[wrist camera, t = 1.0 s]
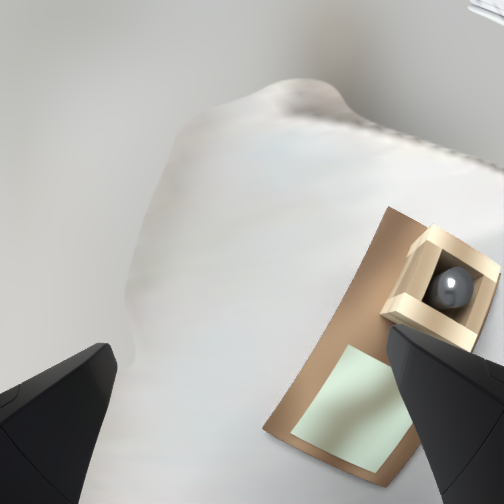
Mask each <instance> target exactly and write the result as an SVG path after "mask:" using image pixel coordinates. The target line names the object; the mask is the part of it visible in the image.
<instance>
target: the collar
mask: <svg viewBox="0 0 504 504" xmlns="http://www.w3.org/2000/svg"><path fill="white" fill-rule="evenodd" d="M453 267H461V268H464V269H465V270H467V271H468V272H469V274H470V275H471V277H472V280H473V285H474V290H473V295H472V297H471V299H470V301H469V302H468V303H467V304H465V305H464V306H461V307H456V308H450V309H445V310H444V312H443V314H442V313H440V312H438V311H437V310H435V309H433V308H431V307H430V306H428V305H426V304H424V303H423V302H421V300H422V298H423V296H424V293H425V291H426V289H427V286H428V284H429V282H430V279H431V277H432V274H435V275H439V274H441V273H443V272H445V271H447V270H449V269H451V268H453ZM500 269H501V266H499V265H498V264H496V263H495V262H493V261H492V260H491V259H489V258H488V257H486V256H485V255H483V254H482V253H480V252H478V251H477V250H475V249H474V248H472V247H471V246H469V245H468V244H466V243H464V242H463V241H461V240H460V239H458V238H456V237H455V236H453V235H451V234H450V233H448V232H446V231H445V230H443V229H441V228H440V227H438V226H436V225H434V224H432V225H431V226H430V227H429V228H428V229H427V230H426V231H425V232H424V233H423V234H422V235H421V236H420V237H419V238H418V239H417V240H416V241H415V242H414V243H413V244H412V245H411V247H410V250H409V252H408V254H407V257H406V259H405V261H404V264H403V266H402V268H401V270H400V273H399V275H398V277H397V279H396V281H395V283H394V286H393V288H392V290H391V292H390V294H389V296H388V298H387V300H386V302H385V304H384V306H383V308H382V310H381V312H380V314H379V315H381V316H383V317H385V318H387V319H389V320H390V321H392V322H394V323H396V324H404V325H406V326H409V327H411V328H414V329H416V330H418V331H421V332H423V333H425V334H428V335H430V336H432V337H435V338H437V339H439V340H442V341H444V342H446V343H449V344H451V345H453V346H456V347H458V348H461V349H463V350H465V351H468V352H471V349H472V347H473V345H474V343H475V340H476V338H477V335H478V333H479V331H480V328H481V326H482V323H483V320H484V318H485V315H486V312H487V310H488V307H489V304H490V301H491V298H492V295H493V292H494V289H495V286H496V283H497V279H498V276H499V272H500Z"/></svg>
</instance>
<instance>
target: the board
mask: <svg viewBox="0 0 504 504" xmlns="http://www.w3.org/2000/svg"><path fill="white" fill-rule="evenodd" d="M427 229H428V228H427V227H426V226H424V225H422V224H420V223H419V222H417V221H415V220H413V219H411V218H409V217H408V216H406V215H404V214H402V213H400V212H398V211H396V210H395V209H393V208H391V207H389V206H388V208H387V210H386V211H385V213H384V216H383V218H382V220H381V222H380V225H379V227H378V229H377V231H376V233H375V236H374V238H373V240H372V242H371V244H370V246H369V248H368V250H367V252H366V254H365V256H364V258H363V260H362V263H361V265H360V267H359V269H358V270H357V272H356V274H355V276H354V278H353V280H352V282H351V284H350V286H349V288H348V290H347V292H346V294H345V295H344V297H343V299H342V301H341V303H340V305H339V306H338V308H337V310H336V312H335V314H334V316H333V317H332V319H331V321H330V323H329V324H328V326H327V328H326V330H325V331H324V333H323V335H322V336H321V338H320V340H319V342H318V343H317V345H316V347H315V348H314V350H313V352H312V353H311V355H310V356H309V358H308V360H307V361H306V363H305V365H304V366H303V368H302V369H301V371H300V372H299V374H298V376H297V377H296V379H295V380H294V382H293V383H292V385H291V386H290V388H289V389H288V391H287V392H286V394H285V395H284V397H283V398H282V400H281V401H280V403H279V404H278V406H277V407H276V409H275V410H274V412H273V413H272V414H271V416H270V417H269V419H268V420H267V421H266V423H265V425H264V426H263V428H262V429H263V430H265V431H266V432H268V433H270V434H272V435H273V436H275V437H277V438H279V439H281V440H282V441H284V442H286V443H288V444H290V445H292V446H293V447H295V448H297V449H299V450H301V451H303V452H305V453H307V454H309V455H311V456H313V457H315V458H317V459H319V460H321V461H323V462H326V463H328V464H330V465H332V466H334V467H336V468H339V469H341V470H343V471H345V472H348V473H350V474H352V475H355V476H357V477H360V478H362V479H365V480H367V481H370V482H372V483H375V484H378V485H380V486H383V487H387V486H388V485H389V483H390V482H391V481H392V480H393V479H394V477H395V476H396V475H397V474H398V473H399V471H400V470H401V469H402V468H403V466H404V465H405V464H406V462H407V461H408V460H409V458H410V457H411V456H412V454H413V453H414V452H415V450H416V449H417V448H418V446H419V445H420V443H421V441H420V439H419V436H418V434H417V432H416V429H415V427H414V424H413V422H412V420H411V417H410V415H409V413H408V411H407V408H406V406H405V404H404V402H403V399H402V397H401V395H400V392H399V390H398V387H397V384H396V381H395V378H394V375H393V372H392V368H391V365H390V362H389V359H388V357H387V353H386V345H387V339H388V333H389V329H390V327H391V326H392V325H397V324H396V323H394V322H392V321H390V320H389V319H387V318H385V317H383V316H381V315H379V314H380V312H381V310H382V308H383V306H384V304H385V302H386V300H387V298H388V296H389V294H390V292H391V290H392V288H393V286H394V283H395V281H396V279H397V277H398V275H399V273H400V270H401V268H402V266H403V264H404V261H405V259H406V257H407V254H408V252H409V250H410V247H411V245H412V244H413V243H414V242H415V241H416V240H417V239H418V238H419V237H420V236H421V235H422V234H423V233H424V232H425V231H426V230H427ZM435 276H437V275H435V274H432V277H431V278H433V277H435ZM500 276H501V273H499V276H498V279H497V283H496V286H495V289H494V292H493V295H492V298H491V301H490V304H489V307H488V310H487V312H486V315H485V318H484V320H483V323H482V326H481V328H480V331H479V333H478V335H477V338H476V340H475V343H474V345H473V347H472V349H471V352H470V353H472V352H473V350H474V348H475V345H476V343H477V341H478V338H479V336H480V333H481V331H482V328H483V326H484V323H485V321H486V318H487V315H488V313H489V310H490V307H491V304H492V301H493V298H494V295H495V292H496V289H497V286H498V282H499V279H500ZM438 312H440V313H442V314H443V312H444V310H439V311H438Z"/></svg>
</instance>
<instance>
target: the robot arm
mask: <svg viewBox="0 0 504 504" xmlns="http://www.w3.org/2000/svg"><path fill="white" fill-rule="evenodd" d="M386 353H387V357H388V359H389V362H390V365H391V368H392V372H393V375H394V378H395V381H396V384H397V387H398V390H399V392H400V395H401V397H402V399H403V402H404V404H405V406H406V408H407V411H408V413H409V415H410V417H411V420H412V422H413V424H414V427H415V429H416V432H417V434H418V436H419V439H420V441H421V444H422V446H423V449H424V451H425V454H426V456H427V459H428V461H429V464H430V467H431V469H432V472H433V475H434V477H435V480H436V483H437V486H438V488H439V491H440V494H441V496H442V500H443V503H444V504H504V366H502V365H499V364H496V363H494V362H492V361H489V360H487V359H486V360H485V359H484V358H482V357H480V356H477V355H475V354H472V353H470V352H468V351H465V350H463V349H461V348H458V347H456V346H453V345H451V344H449V343H446V342H444V341H442V340H439V339H437V338H435V337H432V336H430V335H428V334H425V333H423V332H421V331H418V330H416V329H414V328H411V327H409V326H406V325H404V324H397V325H392V326H391V327H390V329H389V333H388V339H387V345H386ZM116 373H117V362H116V359H115V357H114V354H113V351H112V348H111V346H110V345H109V344H108V343H96V344H95V345H93V346H91V347H89V348H87V349H85V350H83V351H81V352H79V353H78V354H76V355H74V356H72V357H70V358H68V359H66V360H64V361H62V362H61V363H59V364H57V365H55V366H53V367H51V368H49V369H47V370H45V371H44V372H42V373H40V374H38V375H36V376H34V377H32V378H30V379H28V380H26V381H25V382H23V383H22V384H19V385H17V386H15V387H13V388H11V389H9V390H7V391H5V392H3V393H1V394H0V504H78V503H79V499H80V495H81V491H82V488H83V484H84V480H85V477H86V474H87V470H88V467H89V463H90V460H91V457H92V454H93V450H94V447H95V444H96V441H97V438H98V435H99V432H100V429H101V426H102V423H103V420H104V417H105V414H106V411H107V408H108V405H109V401H110V397H111V393H112V389H113V385H114V381H115V377H116Z"/></svg>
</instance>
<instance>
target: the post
mask: <svg viewBox="0 0 504 504" xmlns="http://www.w3.org/2000/svg"><path fill="white" fill-rule="evenodd" d="M473 290H474V285H473V280H472V277H471V275H470V274H469V272H468V271H467V270H465V269H464V268H461V267H453V268H451V269H449V270H447V271H445V272H443V273H441V274H439V275H437V276H435V277H433V278H431V279H430V282H429V284H428V286H427V289H426V291H425V293H424V296H423V298H422V300H421V302H423V303H424V304H426V305H428V306H430V307H431V308H433V309H435V310H437V311H439V310H445V309H450V308H456V307H461V306H464V305H465V304H467V303H468V302H469V301H470V299H471V297H472V295H473Z"/></svg>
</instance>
